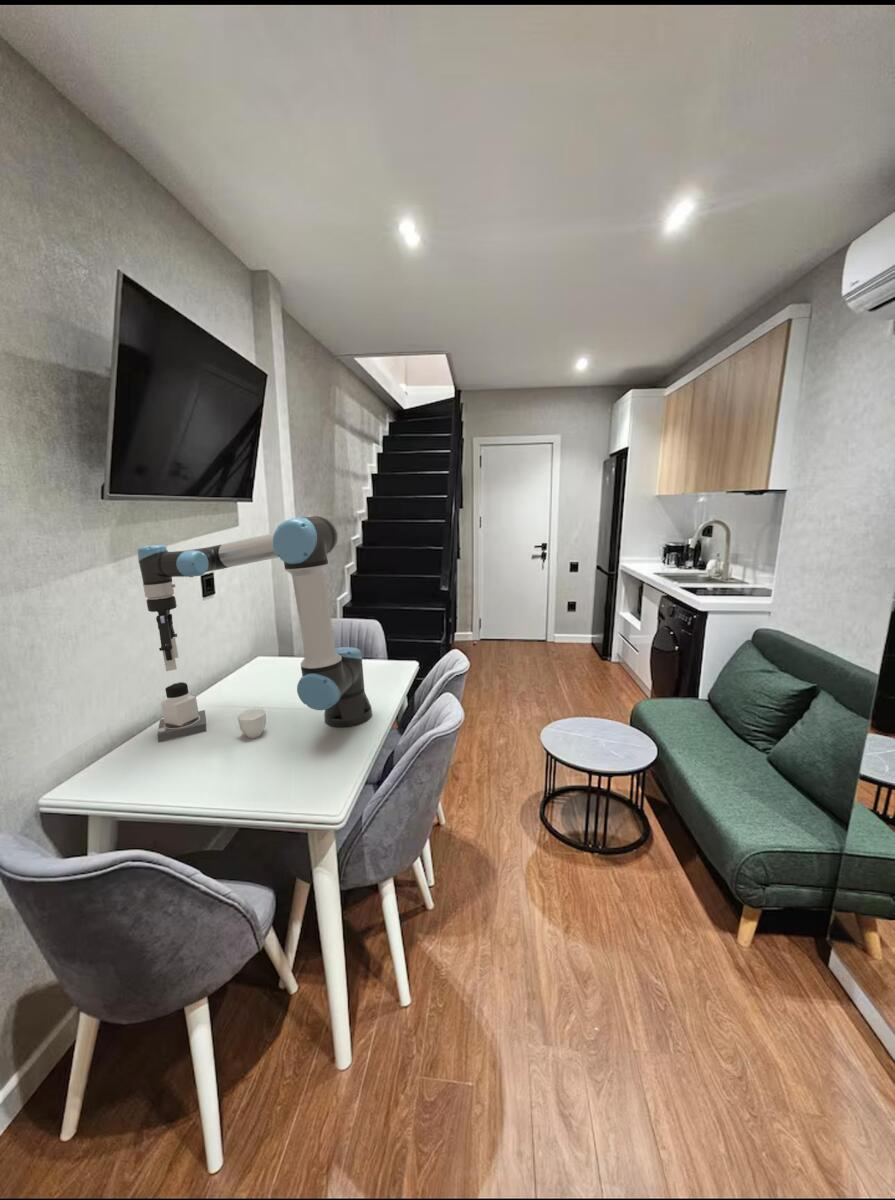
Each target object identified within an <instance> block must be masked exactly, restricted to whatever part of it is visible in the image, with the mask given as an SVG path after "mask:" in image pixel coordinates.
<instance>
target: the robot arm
mask: <svg viewBox="0 0 895 1200" xmlns="http://www.w3.org/2000/svg"><path fill="white" fill-rule="evenodd" d="M337 542H338V531H337V529H336V526H335V525H334V524H333V522H331V521H330V520H329V519H327V518H325V517H323V516H318V515H317V516H314V515H313V516H307V517H306V516H305V517H304V516H303V517H302V516H300V517H298V516H297V517H294V518H289V519H286V520H284V521H283V522H281V523H280V524H278V526H277V527H276V529H275V531H274V532H272V533H269V534H264V535H259V536H258V535H257V536H254V537H250V538H245V539H241V540H240V539H239V540H236V541H231V542H227V543H222V544H218V545H217V544H216V545H213V546H208V547H201V548H193V549H187V550H181V551H180V550H176V551H168V549H167V546H166V545H164V544H154V545H153V544H152V545H144V546H139V548H138V549H137V557H138V558H137V559H138V561H137V562H138V564H139V565H138V566H139V569H140V572H141V579H142V585H143V592H144V596H145V598H147V599H146V605H147V611H148V612H150V613H151V612H152V613H154V612H155V613H156V612H157V613H158V614H157V615H156V617H155V619H156V624H157V628H158V632H159V639H160V647H159V648H158V649H159V652H162V655H163V661H164V666H165V671H166V672H169V671H175V670H177V669H178V668H177V663H176V659H178V658H179V653H178V651H179V650H178V645H177V642H176V641H177V640H176V638H178V633H175V629H174V625H173V624H174V622H173V621H174V620H173V615H172V613H171V610H174V609H176V608H177V600H176V597H175V595H174V594H175V589H174V588H176V584H174V583H173V577H174V578H176V577H178V578H184V577H185V578H194V577H201V576H203V575H205V574H206V573H209V572H213V571H214V572H215V571H218V570H220V571H221V570H225V569H228V568H232V567H237V566H243V565H248V564H252V563H258V562H262V561H268V560H272V559H273V560H274V559H278V558H280V560H281V561H282V562H283V565H284V570H285V571H286V572H288V573H289V574H290V575H291V579H292V584H293V590H294V597H295V603H296V610H297V615H298V621H299V627H300V628H299V629H300V634H301V640H302V648H303V653H304V659H302V660H301V661H300V669H301V675H302V676H301V677H300V679H299V681H298V683H297V686H296V691H297V696H298V698H299V700H300V701H301V703H303V704H304V705H306V706H307V707H308V708H309V709H311V710H315V711H324V713H323V715H324V721H325V723H326V724H327V725H329V726H331V727H336V728H347V727H353V726H358V725H360V724H363V723H365V722H367V721H368V720H370V719H371V718H372V715H373V710H372V704H371V703H370V700H369V698H368V696H367V694H366V691H365V681H364V667H363V657H362V652H361V650H360V649H359V648H357V647H351V646H348V647H346V646H344V647H343V646H342V647H335V639H334V633H333V632H334V631H333V627H332V620H331V612H330V605H329V600H328V599H329V598H328V591H327V586H326V585H327V584H326V578H325V570H326V568H327V567H328V566H329V560H328V555H329V554H330V553H331V552H332V551H333V550H334V549H335V548H336V546H337Z"/></svg>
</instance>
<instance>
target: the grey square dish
mask: <svg viewBox="0 0 895 1200" xmlns="http://www.w3.org/2000/svg"><path fill="white" fill-rule="evenodd" d="M198 712H199V717H198V718H196V719H193V720H191V721H189V722H187V723H185V724H183V725H181V726H177V725H172V724H167V723H165V721H164V718H161V719H160V720H159V723H158V729H157V734H156V735H157V741H158V743H161V741H162V742H166V741H169V740H173V739H179V738H183V737H187V736H191V735H192V736H193V735H196V734H200V733H204V732H207V716H206V711H205V709H204V710H198ZM165 740H166V741H165Z"/></svg>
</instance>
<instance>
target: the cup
mask: <svg viewBox="0 0 895 1200" xmlns="http://www.w3.org/2000/svg"><path fill="white" fill-rule="evenodd" d="M237 721H238V725H239V726H238V727H239V728H240V730H241V732H242V734H244V735H245V736H246V737H247V738H249V739H253V738H258V737H260V736H261V735H262V734H263V732H264V730H265V727H266V725H267V716H266V710H264V709H263V708H262V709H261V708H253V709H248V710H245V711H242V712H241V713H240V714H238V716H237Z"/></svg>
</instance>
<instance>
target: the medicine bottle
mask: <svg viewBox="0 0 895 1200" xmlns="http://www.w3.org/2000/svg"><path fill="white" fill-rule="evenodd" d="M165 693H166V694H165V696H166V700H163V701H161V703H160V705H161V709H162V715H163V719H164V721H165V723H167V724H172V725H177V726H181V725H183V724H185V723H187V722H189V721H191V720H193V719H196V718H198V717H199V712H198V711H199V708H198V700H197V696H194V695H190V693H189V688H188V684H187V682H183V681H182V682H181V681H180V682H174V683H170V684H169V685H167V686H166V687H165Z"/></svg>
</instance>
